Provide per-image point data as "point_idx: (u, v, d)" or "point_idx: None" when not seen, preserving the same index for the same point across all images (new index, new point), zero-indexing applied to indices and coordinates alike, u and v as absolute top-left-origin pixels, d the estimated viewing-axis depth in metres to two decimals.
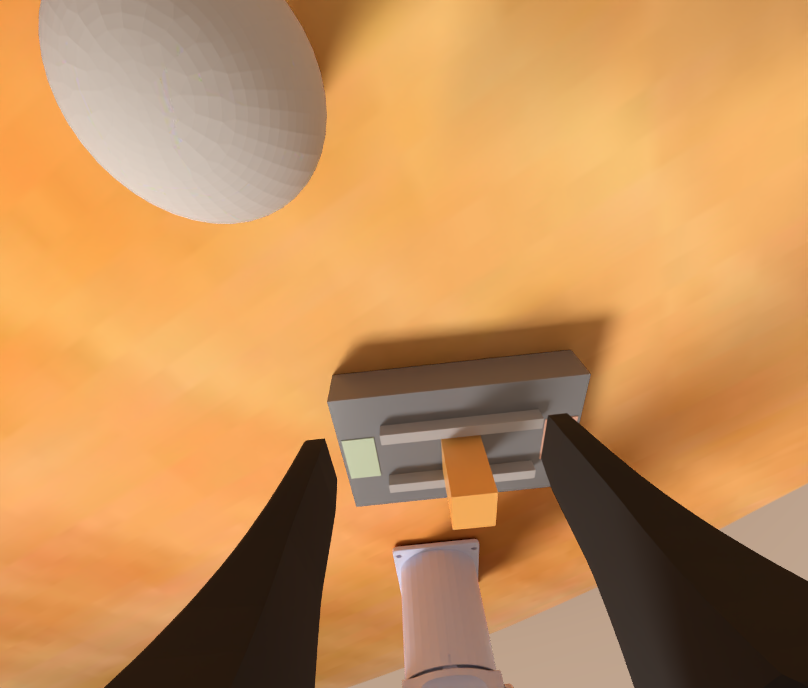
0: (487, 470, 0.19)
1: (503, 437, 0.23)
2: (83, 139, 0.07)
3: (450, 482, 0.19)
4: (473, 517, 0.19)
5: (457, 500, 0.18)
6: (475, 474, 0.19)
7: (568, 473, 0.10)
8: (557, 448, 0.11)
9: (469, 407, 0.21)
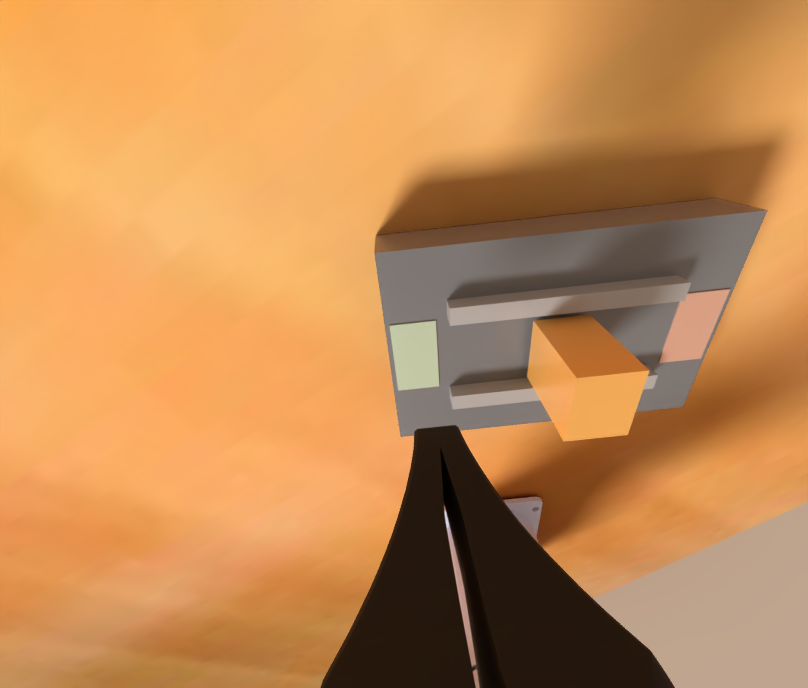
0: (620, 348, 0.13)
1: (616, 325, 0.16)
2: None
3: (567, 362, 0.12)
4: (599, 419, 0.13)
5: (584, 384, 0.12)
6: (602, 352, 0.13)
7: (446, 486, 0.10)
8: (440, 460, 0.11)
9: (580, 268, 0.14)
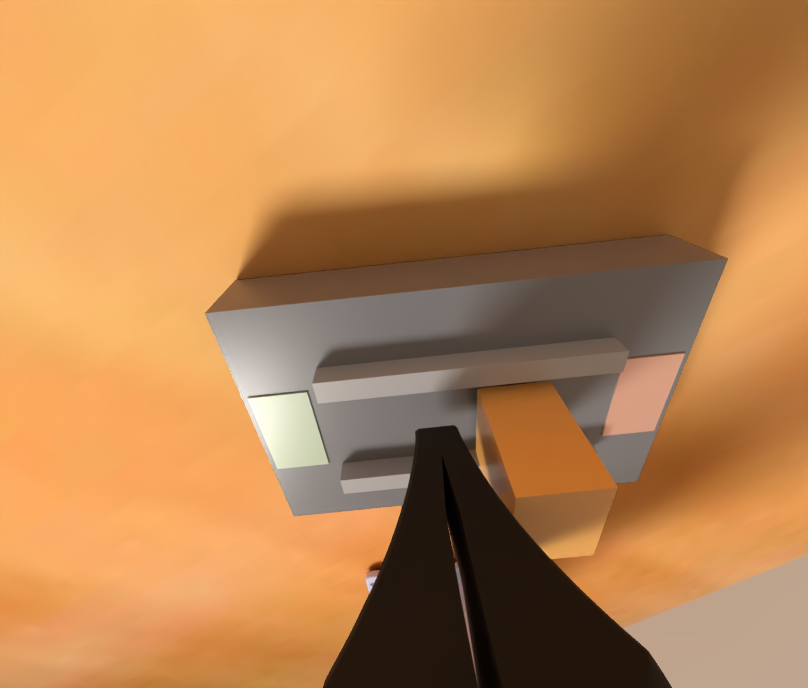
0: (581, 442, 0.09)
1: None
2: None
3: (508, 466, 0.09)
4: (553, 540, 0.09)
5: (527, 504, 0.08)
6: (556, 449, 0.09)
7: (445, 486, 0.10)
8: None
9: (486, 330, 0.11)
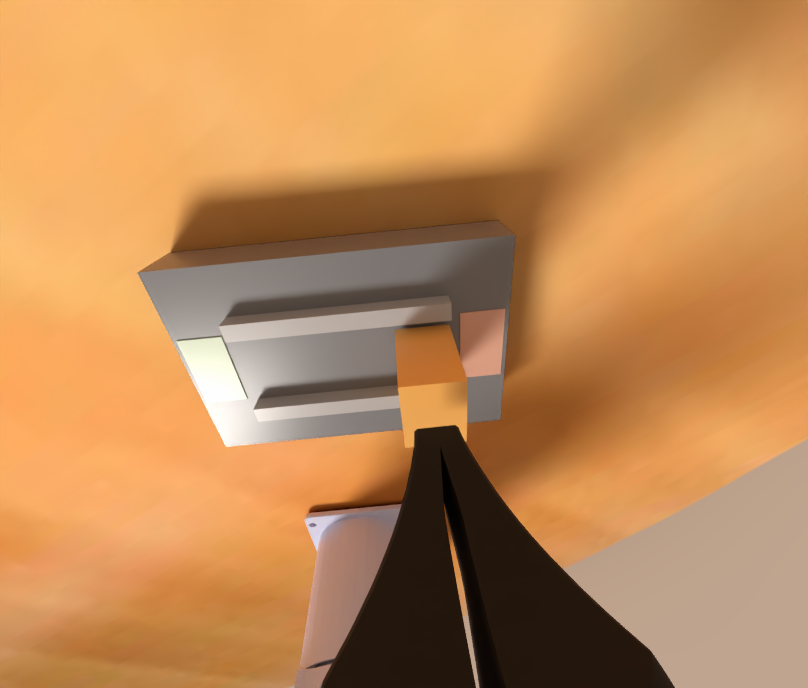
0: (454, 358, 0.13)
1: None
2: None
3: (399, 371, 0.13)
4: (433, 426, 0.13)
5: (407, 393, 0.12)
6: (436, 362, 0.13)
7: (446, 486, 0.10)
8: (440, 460, 0.11)
9: (349, 288, 0.15)
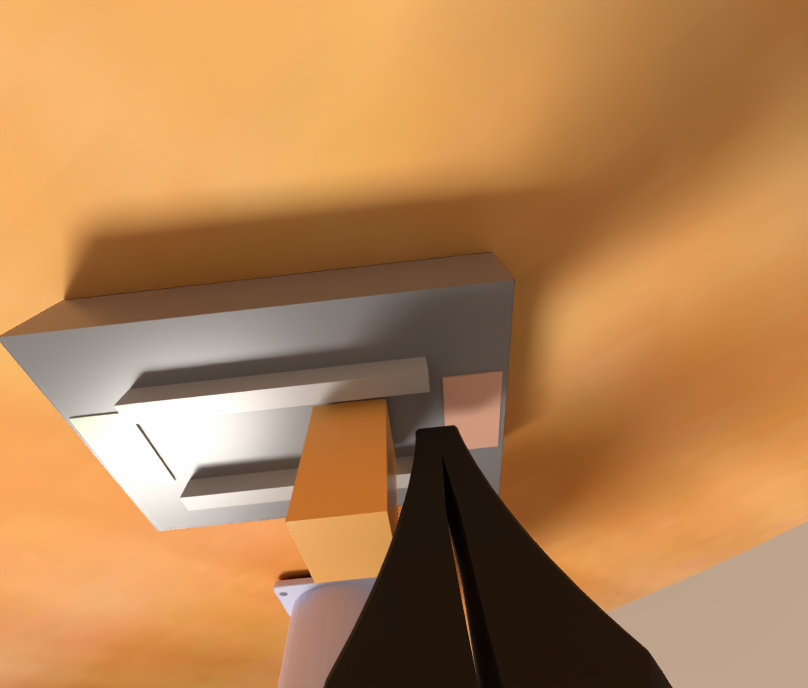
0: (378, 463, 0.09)
1: None
2: None
3: (296, 488, 0.09)
4: (349, 561, 0.09)
5: (300, 527, 0.09)
6: (351, 471, 0.09)
7: (445, 486, 0.10)
8: None
9: (290, 351, 0.11)
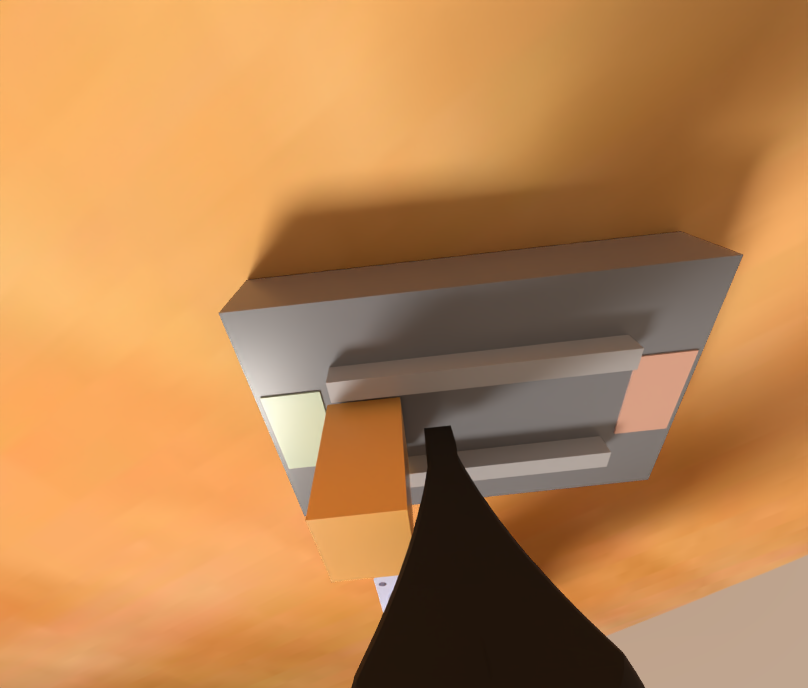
0: (396, 462, 0.09)
1: (556, 392, 0.12)
2: None
3: (314, 487, 0.09)
4: (367, 560, 0.09)
5: (320, 526, 0.08)
6: (369, 469, 0.09)
7: None
8: None
9: (499, 328, 0.11)
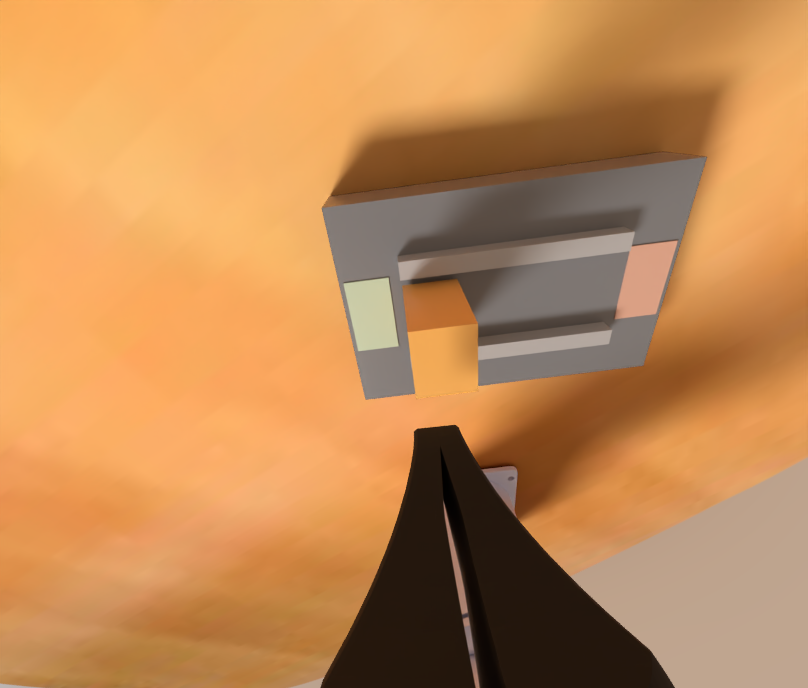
0: (464, 305, 0.13)
1: (568, 280, 0.16)
2: None
3: (408, 319, 0.13)
4: (444, 375, 0.13)
5: (417, 338, 0.12)
6: (445, 310, 0.13)
7: (446, 486, 0.10)
8: (440, 460, 0.11)
9: (526, 221, 0.15)
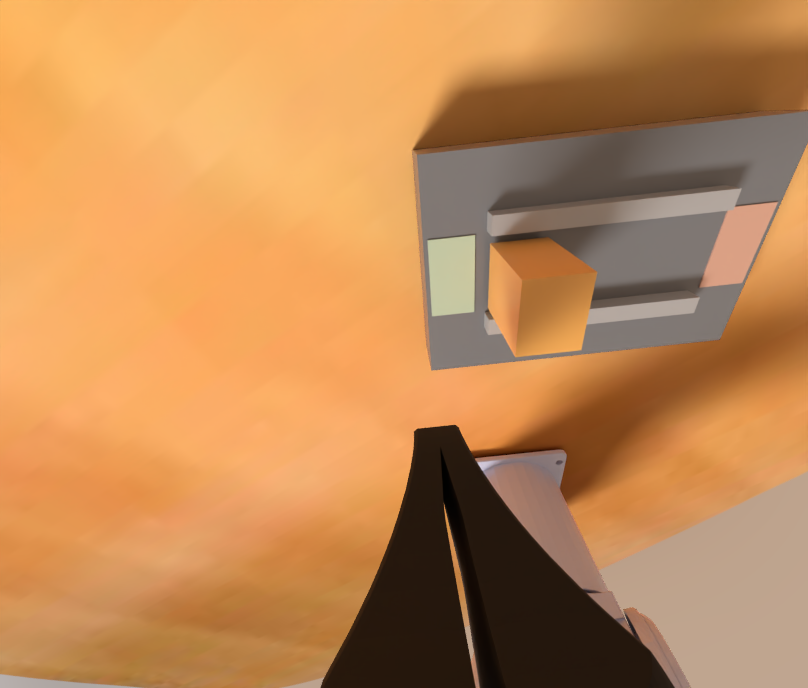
0: (571, 257, 0.12)
1: (659, 242, 0.15)
2: None
3: (516, 269, 0.12)
4: (550, 331, 0.12)
5: (530, 287, 0.12)
6: (552, 262, 0.12)
7: (446, 486, 0.10)
8: (440, 460, 0.11)
9: (626, 175, 0.14)
